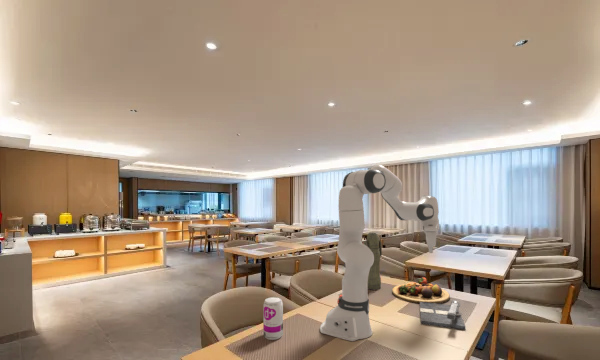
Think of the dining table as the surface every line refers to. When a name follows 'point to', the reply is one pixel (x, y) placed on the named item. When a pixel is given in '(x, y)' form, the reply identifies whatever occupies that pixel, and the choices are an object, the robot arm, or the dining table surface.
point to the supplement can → (273, 318)
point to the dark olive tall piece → (374, 272)
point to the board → (440, 316)
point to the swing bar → (453, 309)
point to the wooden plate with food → (421, 292)
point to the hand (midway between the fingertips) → (430, 252)
